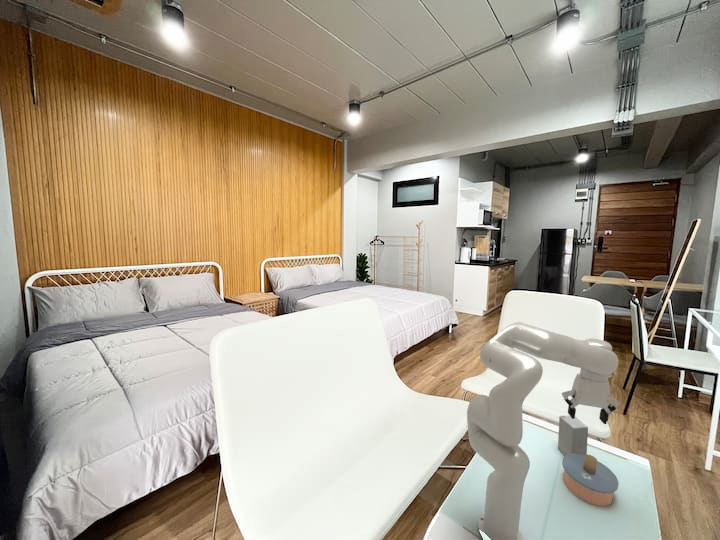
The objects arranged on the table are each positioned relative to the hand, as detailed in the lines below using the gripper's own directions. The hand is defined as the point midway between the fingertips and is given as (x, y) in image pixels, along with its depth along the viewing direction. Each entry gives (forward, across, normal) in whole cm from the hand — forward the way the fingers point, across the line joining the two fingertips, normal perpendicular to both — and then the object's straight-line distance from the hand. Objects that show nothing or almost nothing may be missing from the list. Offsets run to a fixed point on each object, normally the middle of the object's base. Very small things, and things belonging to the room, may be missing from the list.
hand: (586, 419), depth 104 cm
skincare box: (+26, -4, -15) cm, 31 cm away
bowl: (+26, -3, +1) cm, 27 cm away
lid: (+20, -3, +1) cm, 21 cm away
